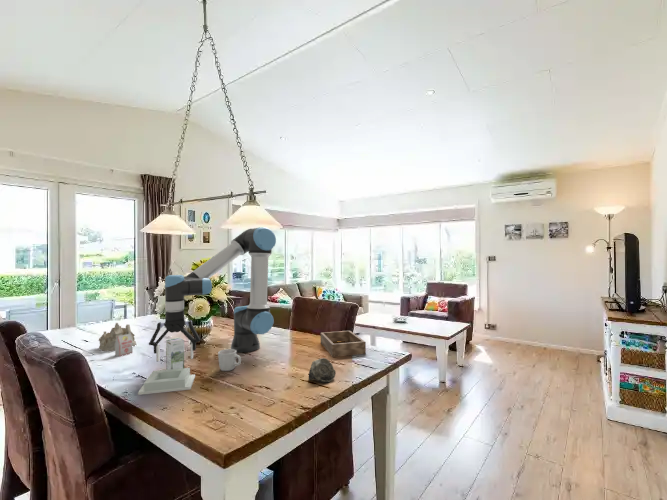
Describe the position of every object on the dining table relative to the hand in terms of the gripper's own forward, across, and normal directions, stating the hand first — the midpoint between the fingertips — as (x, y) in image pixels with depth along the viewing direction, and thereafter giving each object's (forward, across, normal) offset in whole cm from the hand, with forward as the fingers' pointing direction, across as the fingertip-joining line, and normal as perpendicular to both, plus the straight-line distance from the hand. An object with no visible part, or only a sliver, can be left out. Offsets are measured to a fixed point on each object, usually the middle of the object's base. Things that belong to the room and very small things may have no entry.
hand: (175, 359), depth 152 cm
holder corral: (+6, -80, -15) cm, 82 cm away
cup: (+6, -23, +3) cm, 24 cm away
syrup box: (+6, 0, 0) cm, 6 cm away
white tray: (+6, 0, +15) cm, 16 cm away
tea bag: (+6, +31, -38) cm, 49 cm away
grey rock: (+6, +39, -55) cm, 67 cm away
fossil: (+6, -59, +26) cm, 65 cm away
